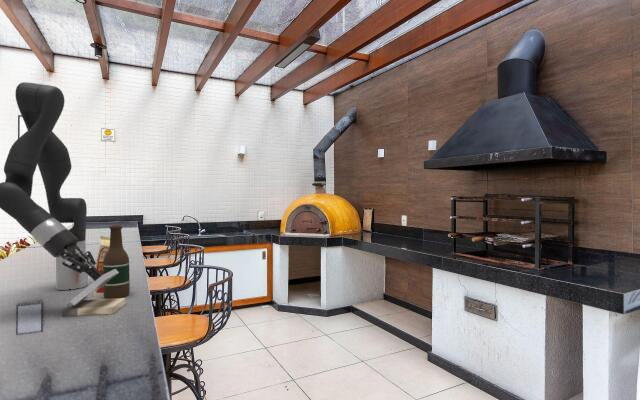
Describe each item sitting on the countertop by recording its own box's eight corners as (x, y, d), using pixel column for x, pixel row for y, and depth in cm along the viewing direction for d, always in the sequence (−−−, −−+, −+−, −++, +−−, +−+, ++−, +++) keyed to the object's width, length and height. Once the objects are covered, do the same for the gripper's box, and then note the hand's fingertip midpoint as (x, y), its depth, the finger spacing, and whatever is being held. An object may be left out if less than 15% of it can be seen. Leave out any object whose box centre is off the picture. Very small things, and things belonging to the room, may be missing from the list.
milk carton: (93, 296, 123) (92, 237, 123) (95, 290, 131) (94, 234, 131) (123, 292, 127) (123, 235, 127) (124, 286, 135) (123, 233, 135)
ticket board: (61, 316, 102) (61, 309, 102) (77, 306, 111) (77, 300, 111) (113, 313, 104) (113, 306, 104) (125, 304, 113) (125, 297, 113)
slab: (65, 304, 102) (102, 274, 104) (81, 296, 111) (115, 268, 112) (69, 308, 102) (106, 279, 104) (85, 299, 111) (119, 272, 113)
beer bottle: (134, 294, 124) (134, 224, 124) (113, 300, 117) (112, 226, 117) (119, 292, 128) (118, 224, 127) (98, 297, 121) (97, 225, 120)
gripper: (57, 243, 111) (99, 283, 113) (30, 249, 98) (78, 293, 100) (76, 226, 112) (118, 265, 114) (52, 230, 99) (100, 274, 101)
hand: (99, 278), depth 107 cm, fingers closed
